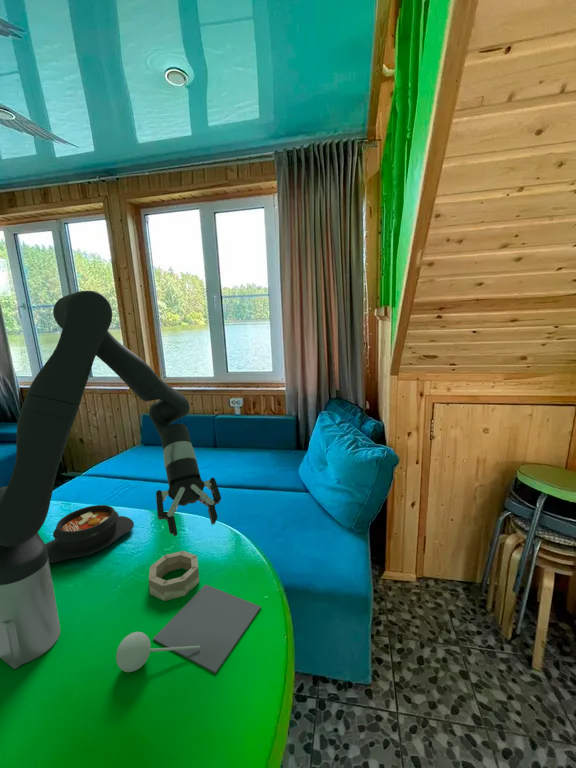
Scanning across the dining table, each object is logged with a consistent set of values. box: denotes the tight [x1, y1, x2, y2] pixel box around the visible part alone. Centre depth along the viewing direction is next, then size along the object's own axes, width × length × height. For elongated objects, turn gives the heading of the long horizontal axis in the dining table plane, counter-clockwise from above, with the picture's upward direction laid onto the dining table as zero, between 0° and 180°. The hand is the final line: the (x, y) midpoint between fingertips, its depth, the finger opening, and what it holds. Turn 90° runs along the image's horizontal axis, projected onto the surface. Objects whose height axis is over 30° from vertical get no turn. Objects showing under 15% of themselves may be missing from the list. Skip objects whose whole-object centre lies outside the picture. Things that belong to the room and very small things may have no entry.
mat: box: [152, 583, 262, 675], centre depth 71 cm, size 16×16×1 cm
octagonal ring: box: [148, 550, 200, 602], centre depth 83 cm, size 12×11×4 cm
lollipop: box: [115, 631, 200, 673], centre depth 63 cm, size 6×6×15 cm
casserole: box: [45, 504, 135, 564], centre depth 100 cm, size 25×19×8 cm
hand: (195, 529), depth 75 cm, fingers open, 8 cm apart
